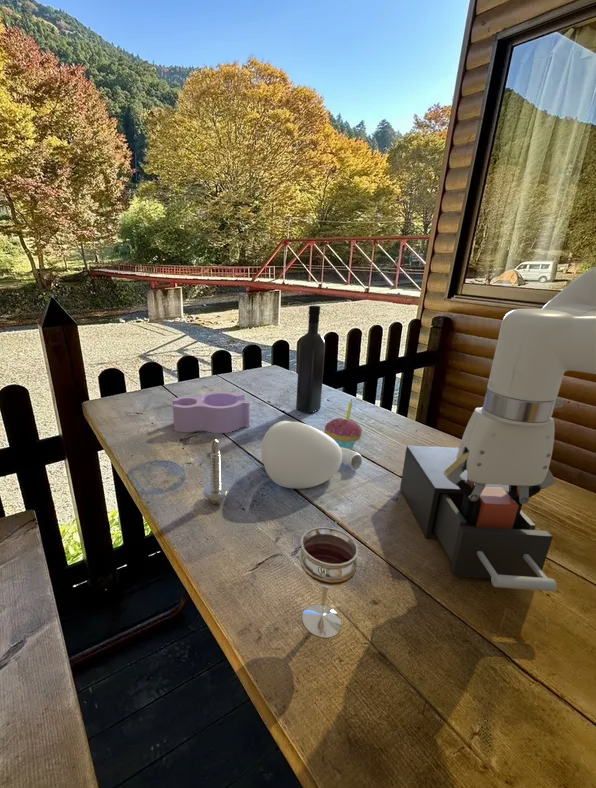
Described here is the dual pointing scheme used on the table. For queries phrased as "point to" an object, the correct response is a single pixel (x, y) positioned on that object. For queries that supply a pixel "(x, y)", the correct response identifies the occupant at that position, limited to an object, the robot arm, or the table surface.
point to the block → (496, 509)
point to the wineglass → (326, 573)
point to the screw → (215, 477)
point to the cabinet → (429, 482)
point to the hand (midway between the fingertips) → (487, 519)
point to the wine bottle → (310, 365)
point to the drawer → (493, 548)
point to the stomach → (303, 455)
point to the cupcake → (344, 430)
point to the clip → (211, 412)
